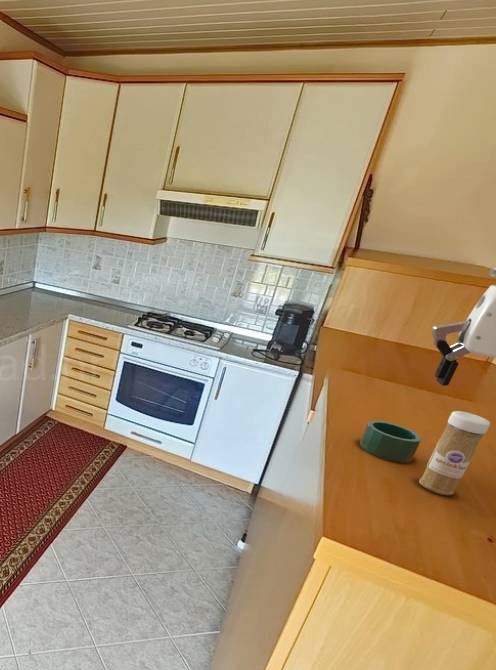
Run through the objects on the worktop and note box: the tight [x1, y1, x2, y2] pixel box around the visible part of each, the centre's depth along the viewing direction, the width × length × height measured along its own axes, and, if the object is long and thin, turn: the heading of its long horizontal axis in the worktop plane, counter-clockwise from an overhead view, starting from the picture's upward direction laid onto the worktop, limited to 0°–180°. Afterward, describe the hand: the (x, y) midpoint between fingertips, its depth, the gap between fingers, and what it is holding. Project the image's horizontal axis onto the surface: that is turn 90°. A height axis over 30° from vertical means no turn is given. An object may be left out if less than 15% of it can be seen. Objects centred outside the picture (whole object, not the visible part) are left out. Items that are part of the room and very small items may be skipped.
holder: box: [359, 420, 423, 464], centre depth 92 cm, size 8×8×4 cm
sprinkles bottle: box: [418, 410, 491, 496], centre depth 79 cm, size 5×5×14 cm
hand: (480, 391), depth 75 cm, fingers open, 9 cm apart
